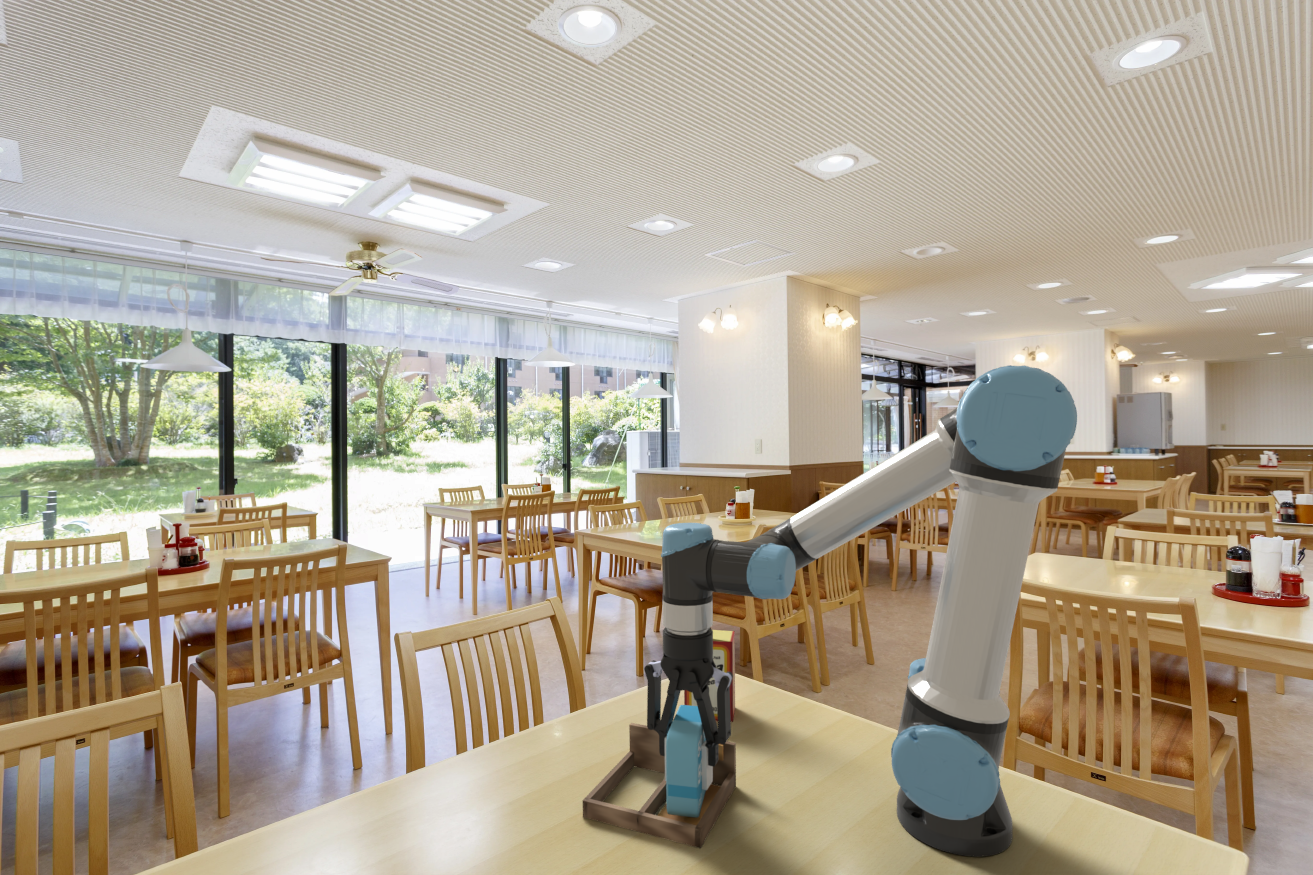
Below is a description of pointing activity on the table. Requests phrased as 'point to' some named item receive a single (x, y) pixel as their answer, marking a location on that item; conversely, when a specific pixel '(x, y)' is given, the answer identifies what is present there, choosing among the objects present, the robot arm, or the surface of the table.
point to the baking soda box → (723, 662)
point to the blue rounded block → (685, 763)
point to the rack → (662, 793)
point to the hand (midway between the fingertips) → (688, 780)
